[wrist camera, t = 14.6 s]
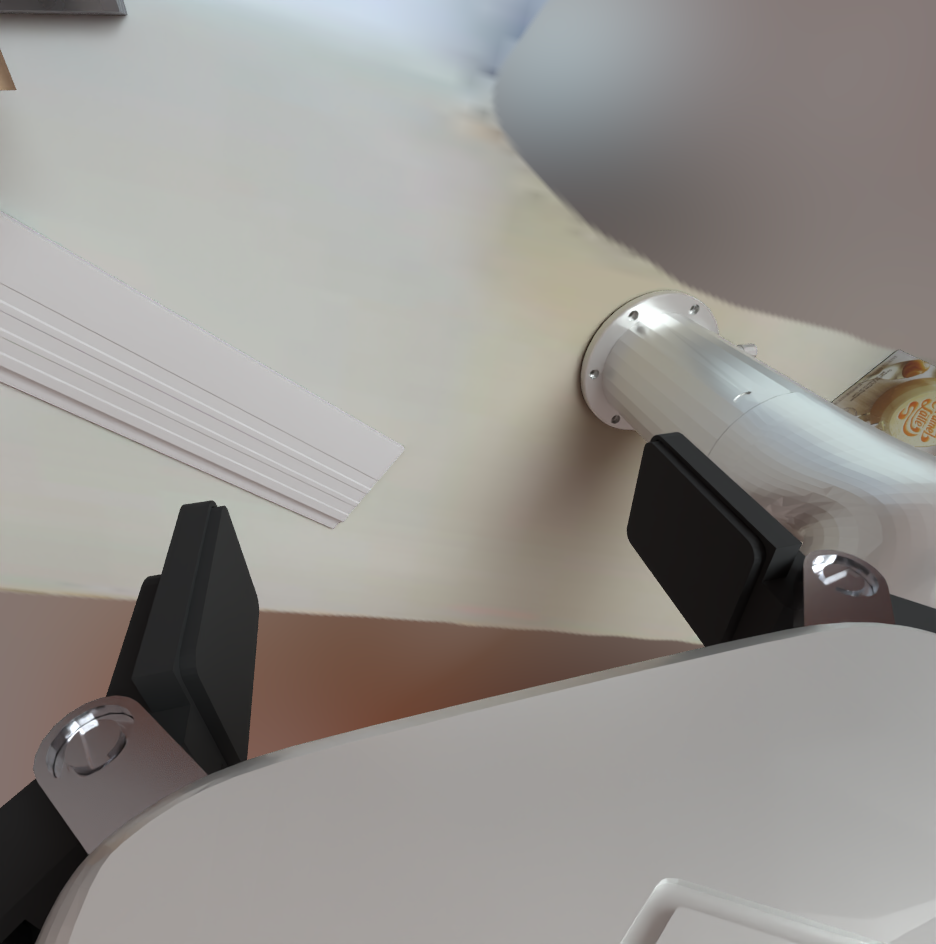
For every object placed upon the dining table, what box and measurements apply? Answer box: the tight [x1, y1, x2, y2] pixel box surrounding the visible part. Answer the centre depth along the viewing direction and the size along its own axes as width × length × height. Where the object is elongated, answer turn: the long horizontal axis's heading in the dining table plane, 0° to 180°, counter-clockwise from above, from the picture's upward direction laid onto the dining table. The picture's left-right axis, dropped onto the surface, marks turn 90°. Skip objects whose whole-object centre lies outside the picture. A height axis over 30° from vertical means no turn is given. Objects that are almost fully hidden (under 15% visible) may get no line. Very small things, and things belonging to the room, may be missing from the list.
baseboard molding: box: [0, 211, 405, 529], centre depth 39 cm, size 31×3×12 cm
